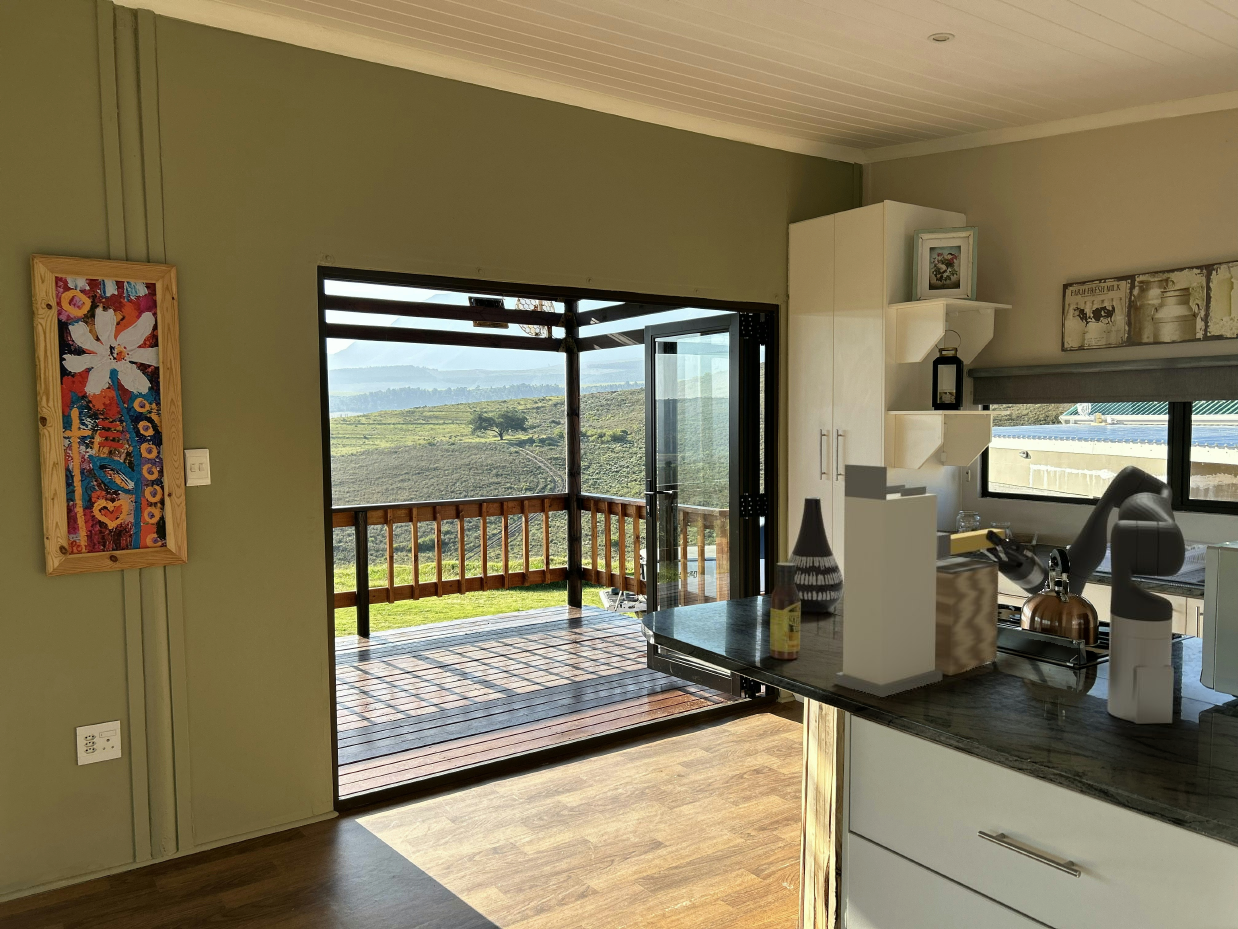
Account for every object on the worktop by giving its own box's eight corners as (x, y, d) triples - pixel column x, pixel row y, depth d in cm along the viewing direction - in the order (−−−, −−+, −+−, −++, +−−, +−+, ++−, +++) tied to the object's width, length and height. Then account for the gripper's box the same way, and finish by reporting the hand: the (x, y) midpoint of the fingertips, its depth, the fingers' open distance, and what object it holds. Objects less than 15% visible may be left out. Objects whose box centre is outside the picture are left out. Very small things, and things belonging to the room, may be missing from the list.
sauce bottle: (793, 662, 191) (793, 567, 190) (765, 658, 195) (765, 564, 193) (804, 655, 197) (805, 562, 196) (777, 651, 200) (777, 560, 199)
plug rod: (938, 557, 181) (938, 535, 181) (919, 555, 185) (919, 533, 184) (1007, 545, 195) (1007, 524, 195) (988, 543, 199) (988, 522, 198)
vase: (779, 604, 247) (780, 494, 245) (840, 605, 245) (841, 495, 243) (781, 617, 231) (782, 500, 230) (846, 619, 229) (847, 501, 227)
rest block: (950, 675, 181) (951, 571, 180) (911, 665, 188) (912, 565, 187) (996, 661, 191) (998, 562, 189) (958, 652, 198) (959, 557, 197)
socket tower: (882, 698, 168) (885, 467, 165) (835, 683, 176) (837, 464, 174) (942, 680, 178) (945, 463, 175) (895, 667, 187) (897, 460, 184)
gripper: (994, 546, 209) (956, 513, 199) (1055, 554, 197) (1016, 519, 188) (984, 576, 207) (945, 545, 198) (1045, 586, 196) (1006, 553, 186)
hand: (980, 533), depth 193 cm, fingers closed on plug rod, 3 cm apart
